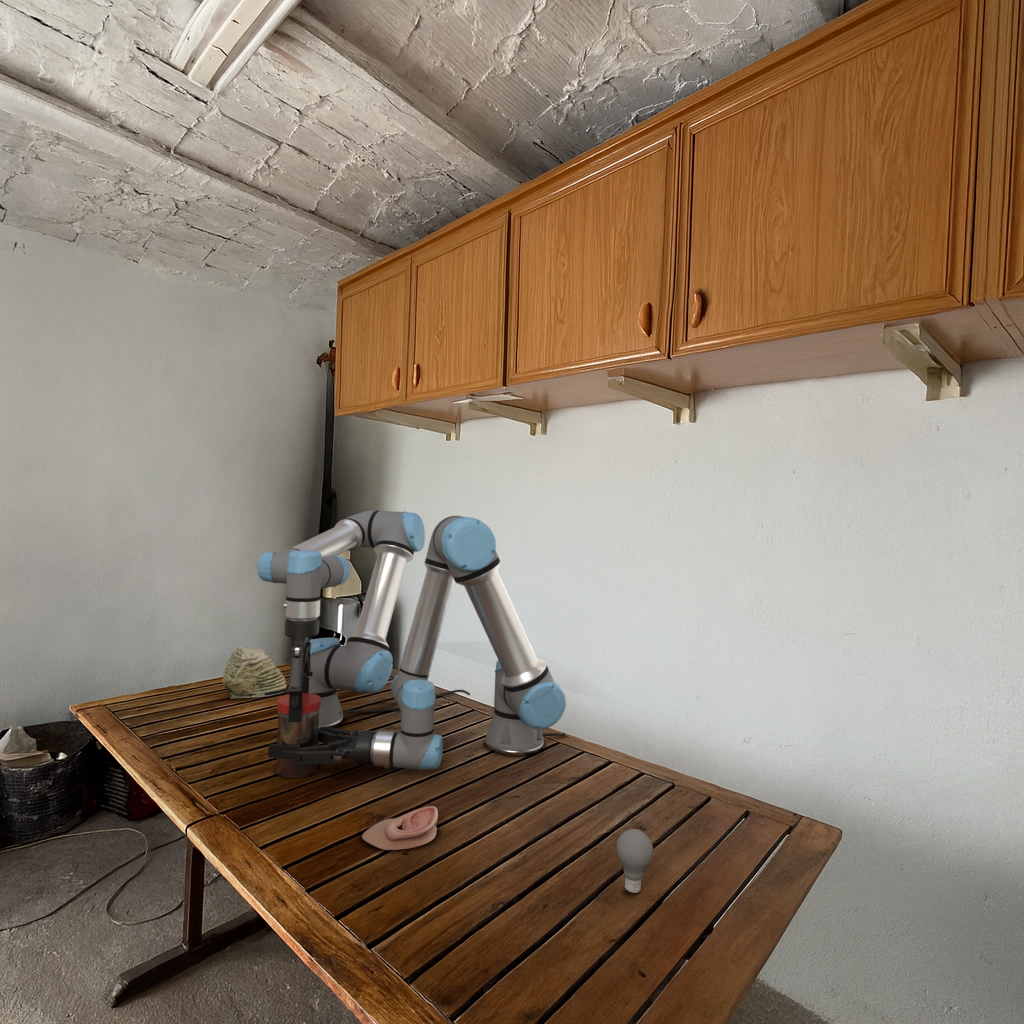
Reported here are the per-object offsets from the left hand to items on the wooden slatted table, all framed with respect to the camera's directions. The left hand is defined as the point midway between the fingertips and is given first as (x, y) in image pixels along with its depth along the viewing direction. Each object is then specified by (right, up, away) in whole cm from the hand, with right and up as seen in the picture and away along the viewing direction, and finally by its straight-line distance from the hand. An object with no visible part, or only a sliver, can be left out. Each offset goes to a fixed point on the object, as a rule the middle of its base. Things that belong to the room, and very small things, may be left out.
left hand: (298, 712), depth 146 cm
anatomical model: (+28, -15, -26) cm, 41 cm away
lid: (0, +3, 0) cm, 3 cm away
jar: (-1, -13, 0) cm, 13 cm away
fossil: (-31, -11, +52) cm, 62 cm away
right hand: (-5, -7, 0) cm, 8 cm away
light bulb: (+69, -17, -40) cm, 82 cm away
